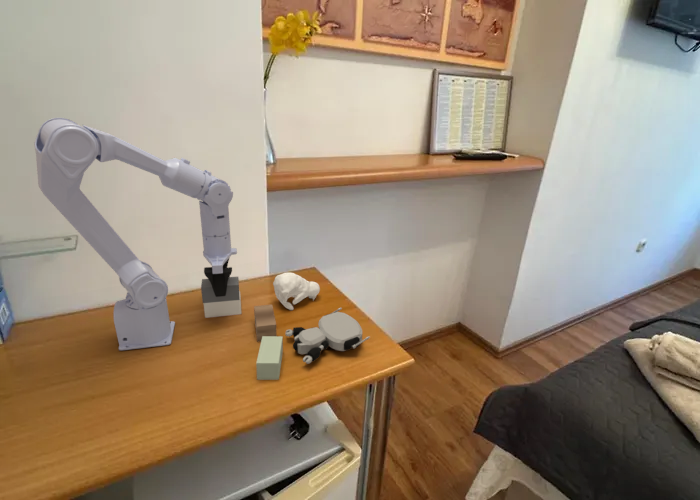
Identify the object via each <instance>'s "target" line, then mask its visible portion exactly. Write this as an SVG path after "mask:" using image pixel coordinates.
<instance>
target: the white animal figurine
mask: <svg viewBox="0 0 700 500" xmlns="http://www.w3.org/2000/svg"><path fill="white" fill-rule="evenodd" d="M272 285H273V288H274V293H275V297H276V299H277V300H278V301H279V302H280V303H281V304H282V305H283V307H284V308H285V309H288V310H289V311H293V310H294V308H295V307H294V305H297V304H298V303H300V302H301V301H303V300H304V299H305V298H309V299H312V301H314V300H315V299H316V298H317V295H318V294H319V293H320V291H321V288H320V287H321V286H320V285H319V283H318V282H315V281H308V280H307V279H305V278H304V277H302V276H301V275H298V274H296V273H294V272H283V273H281V274H278V275H276V276H275V278H274V281H273V282H272ZM289 298H294V299H293V300H292V303H291V302H289V301H288V299H289Z"/></svg>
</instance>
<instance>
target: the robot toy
mask: <svg viewBox="0 0 700 500" xmlns="http://www.w3.org/2000/svg"><path fill="white" fill-rule="evenodd" d="M342 309H343V308H342V307H339V308H337V309H336V310H334V311H333V312H331V313H329V314H326V315H323V316H321V318H320V319H319V321H318V326H316V327H311V328H305V327H302V326H299V327H298V326H297V327H296V326H295V327H293V328H292V329H290V328H289V329H286V330H285V333H284V334H285V336H286V337H291V336H293V338H294V342H293V344H292V348H293V350H294V351H295V352H297V354H300V355H305V356H304V357H303V358H302V361H303V363H305V364H307V365H309V364H311V363H312V362H315V361H316V360H317V359H318V358H320V355H321V353H322V351H323V350H327V349H328V348H329V347H330V348H331V349H333V350H335V351H340V352H345V351H349V350H351V349H356V348H357V347H359V346H360V345H361V344H362V343H364V342H365V341H367V340H369V339H370V338H371V336H366V337H365V338H364V339H363V328H362V326H361V324H360V323H359V322H358V321H357V320H356V319H355V318H354V317H352V316H351V315H349V314H347V313H345V312H340V311H341V310H342Z"/></svg>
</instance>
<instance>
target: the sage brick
mask: <svg viewBox="0 0 700 500" xmlns="http://www.w3.org/2000/svg"><path fill="white" fill-rule="evenodd" d="M283 337H284V336H281V335H279V336H277V335H276V336H262V340H261V341H260V345H259V350H258V354H257V359H256V362H255V363H256V364H255V367H256V380H260V381H261V380H263V381H265V380H275V381H276V380H280V373H281V369H282V368H281V367H282V359H283V354H284V353H283V352H284V349H283V348H284V344H283V343H284V342H283Z"/></svg>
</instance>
